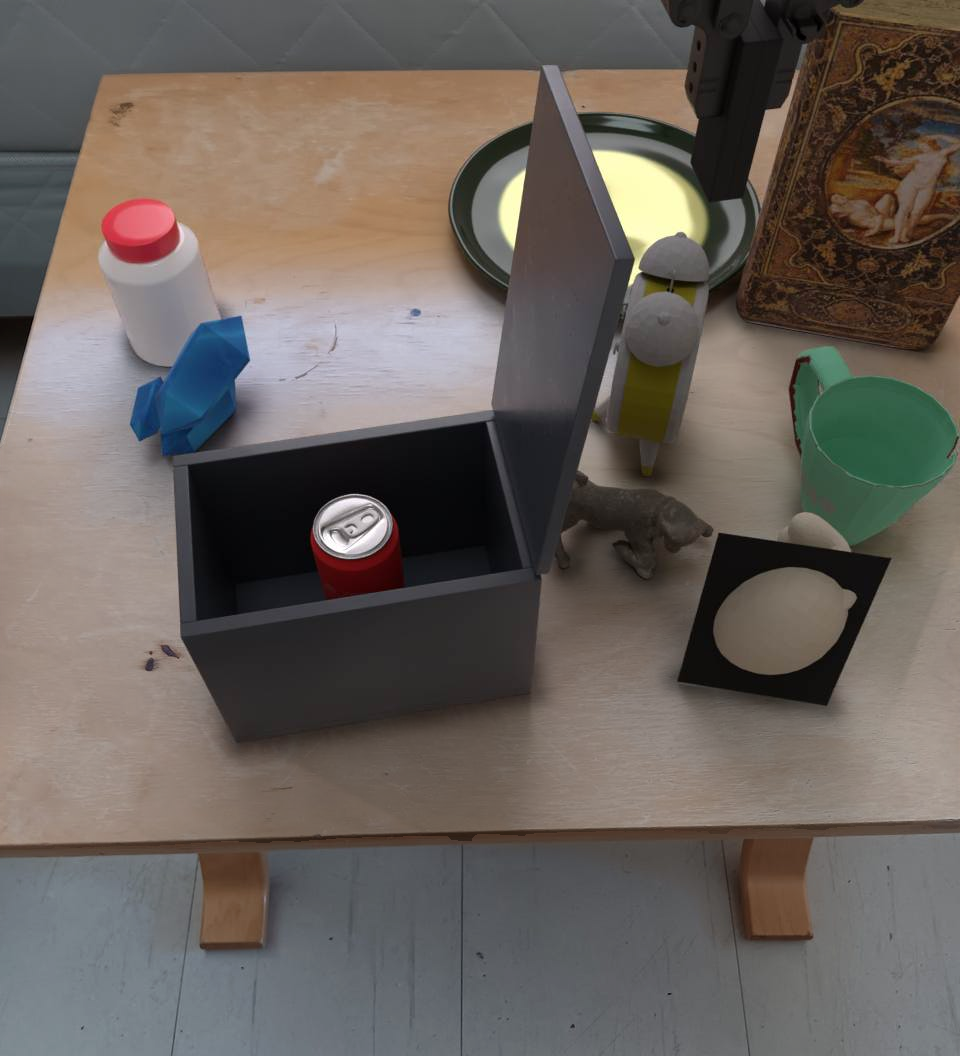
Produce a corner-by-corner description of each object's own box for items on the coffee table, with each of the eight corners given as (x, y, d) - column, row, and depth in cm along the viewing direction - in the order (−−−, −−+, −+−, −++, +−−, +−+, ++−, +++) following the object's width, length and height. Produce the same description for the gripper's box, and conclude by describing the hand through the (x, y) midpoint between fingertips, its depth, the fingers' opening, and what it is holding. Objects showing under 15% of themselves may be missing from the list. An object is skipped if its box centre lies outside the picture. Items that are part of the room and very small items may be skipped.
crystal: (86, 401, 71) (177, 271, 74) (139, 459, 79) (219, 341, 82) (170, 439, 69) (259, 305, 72) (215, 495, 77) (294, 373, 80)
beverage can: (319, 625, 68) (290, 520, 58) (380, 585, 70) (362, 476, 60) (364, 676, 66) (342, 578, 56) (425, 634, 68) (415, 530, 58)
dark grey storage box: (236, 743, 65) (180, 637, 53) (224, 582, 71) (172, 455, 59) (531, 692, 67) (542, 579, 55) (494, 540, 73) (497, 408, 61)
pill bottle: (192, 289, 86) (156, 175, 77) (240, 338, 83) (209, 225, 74) (113, 329, 84) (66, 217, 74) (160, 381, 81) (117, 270, 71)
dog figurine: (534, 562, 72) (539, 499, 66) (552, 501, 75) (559, 434, 68) (697, 600, 70) (719, 539, 64) (710, 536, 73) (733, 471, 67)
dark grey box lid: (615, 260, 37) (636, 259, 37) (540, 64, 43) (558, 64, 43) (535, 575, 54) (549, 574, 54) (490, 403, 61) (503, 403, 61)
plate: (752, 354, 82) (759, 331, 80) (422, 317, 85) (421, 294, 82) (758, 148, 96) (765, 124, 94) (475, 121, 98) (475, 96, 96)
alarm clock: (664, 489, 75) (703, 339, 62) (576, 473, 76) (596, 322, 63) (684, 380, 81) (723, 221, 68) (602, 366, 82) (625, 206, 69)
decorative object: (680, 609, 72) (819, 630, 72) (675, 712, 65) (830, 737, 64) (718, 462, 64) (877, 484, 63) (718, 562, 56) (898, 589, 55)
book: (732, 319, 84) (818, 12, 63) (739, 277, 87) (825, -32, 65) (929, 354, 82) (1089, 48, 61) (931, 309, 85) (1085, 1, 63)
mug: (929, 555, 72) (990, 466, 64) (808, 590, 71) (853, 504, 62) (833, 412, 79) (876, 314, 71) (721, 441, 78) (751, 344, 69)
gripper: (697, -758, 19) (587, 258, 40) (1310, -783, 20) (896, 217, 41) (601, -810, 23) (546, 144, 43) (1125, -829, 24) (830, 110, 44)
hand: (716, 179), depth 42 cm, fingers closed
